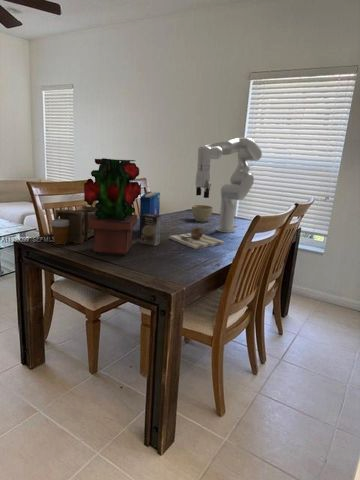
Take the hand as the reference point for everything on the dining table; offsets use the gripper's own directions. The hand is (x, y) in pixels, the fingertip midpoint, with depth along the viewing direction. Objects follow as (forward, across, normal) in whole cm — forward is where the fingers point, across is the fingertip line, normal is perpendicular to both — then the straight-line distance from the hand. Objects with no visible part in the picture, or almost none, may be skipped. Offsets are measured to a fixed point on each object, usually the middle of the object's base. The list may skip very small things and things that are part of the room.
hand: (202, 196), depth 201 cm
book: (+24, -12, -30) cm, 40 cm away
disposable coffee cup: (+21, 0, -83) cm, 86 cm away
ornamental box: (+22, -14, -68) cm, 73 cm away
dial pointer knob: (+22, +11, -12) cm, 28 cm away
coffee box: (+23, +10, -37) cm, 45 cm away
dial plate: (+24, +12, -9) cm, 28 cm away
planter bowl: (+27, -42, +23) cm, 55 cm away
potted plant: (+22, +21, -61) cm, 68 cm away
